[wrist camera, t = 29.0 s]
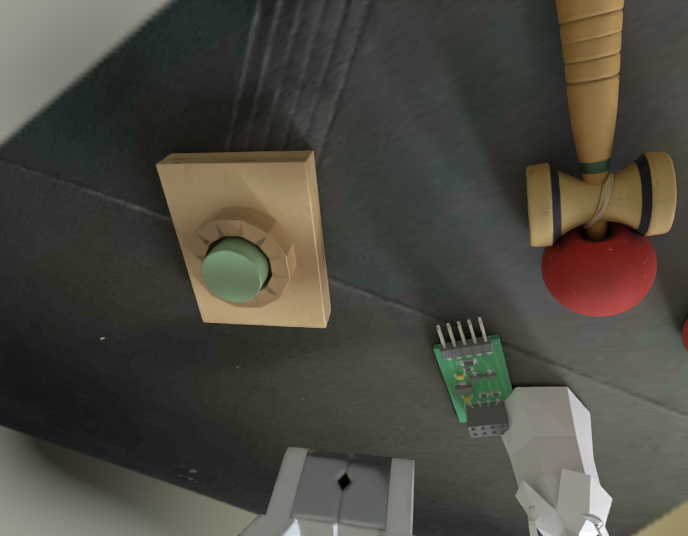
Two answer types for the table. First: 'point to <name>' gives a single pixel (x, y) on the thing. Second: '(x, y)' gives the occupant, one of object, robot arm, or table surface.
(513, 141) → the table surface
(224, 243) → the button
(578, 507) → the figurine
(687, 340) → the beer can
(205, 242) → the button block
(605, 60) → the kendama
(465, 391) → the circuit board
